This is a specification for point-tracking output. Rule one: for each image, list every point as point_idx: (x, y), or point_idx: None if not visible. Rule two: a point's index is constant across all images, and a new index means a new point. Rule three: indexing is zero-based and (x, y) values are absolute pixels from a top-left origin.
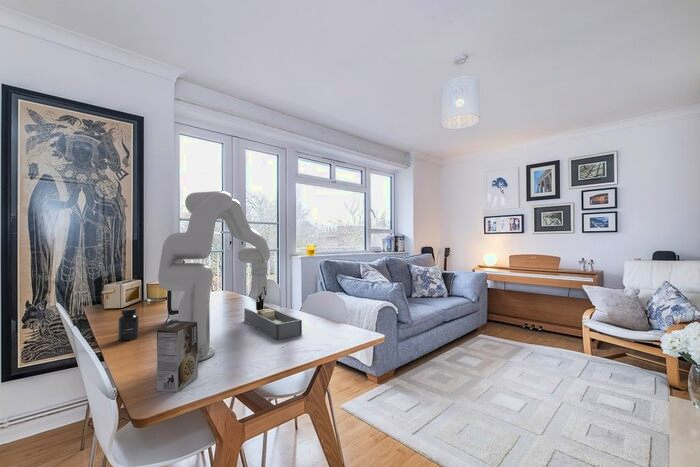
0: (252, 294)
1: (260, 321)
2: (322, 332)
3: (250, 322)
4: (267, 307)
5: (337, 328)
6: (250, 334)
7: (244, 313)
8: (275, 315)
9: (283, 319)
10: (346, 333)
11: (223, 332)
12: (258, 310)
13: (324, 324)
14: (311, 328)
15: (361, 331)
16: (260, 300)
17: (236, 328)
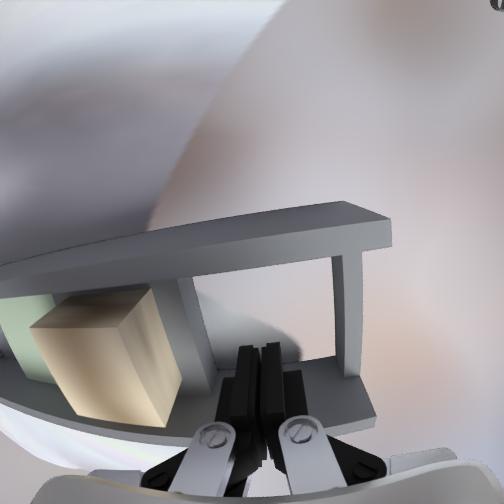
0: (380, 482)
1: (4, 272)
2: None
3: (185, 226)
4: None
5: (53, 449)
6: (2, 194)
7: (363, 210)
8: None
9: (49, 391)
10: (19, 431)
11: (87, 44)
12: (109, 336)
13: (94, 460)
14: None
15: (35, 453)
16: (183, 456)
17: (126, 111)
